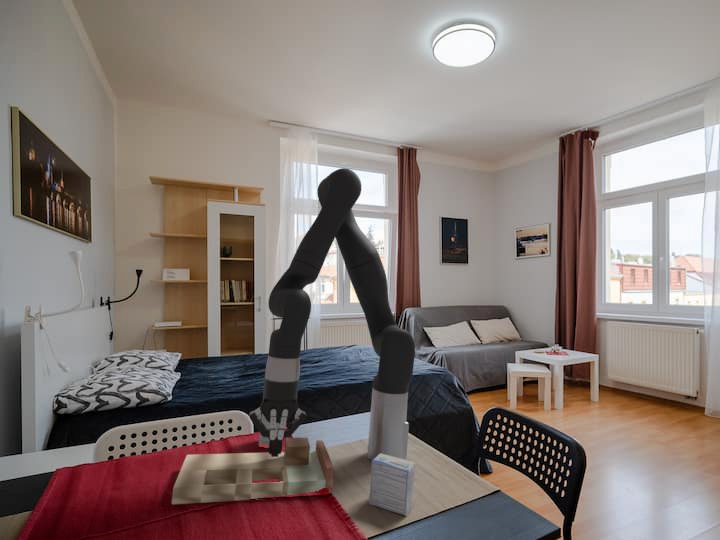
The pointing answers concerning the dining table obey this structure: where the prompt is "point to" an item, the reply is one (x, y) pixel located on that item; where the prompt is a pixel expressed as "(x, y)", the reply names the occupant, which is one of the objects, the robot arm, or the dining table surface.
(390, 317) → the robot arm
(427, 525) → the dining table surface
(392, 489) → the medicine box
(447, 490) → the dining table surface
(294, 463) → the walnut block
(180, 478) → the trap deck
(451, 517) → the dining table surface
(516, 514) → the dining table surface
